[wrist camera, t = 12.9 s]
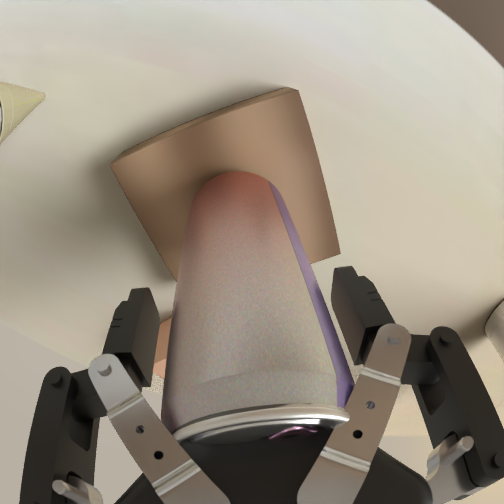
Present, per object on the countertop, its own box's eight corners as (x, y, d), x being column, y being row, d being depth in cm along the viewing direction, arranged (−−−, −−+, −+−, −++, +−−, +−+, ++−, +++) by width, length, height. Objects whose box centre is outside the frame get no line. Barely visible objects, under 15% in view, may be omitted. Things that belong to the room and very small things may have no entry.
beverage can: (302, 202, 20) (404, 424, 7) (245, 265, 22) (274, 484, 10) (227, 148, 17) (245, 388, 5) (173, 222, 20) (128, 460, 7)
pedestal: (287, 87, 18) (298, 90, 16) (329, 233, 25) (340, 253, 22) (123, 151, 20) (109, 165, 17) (192, 278, 26) (189, 302, 24)
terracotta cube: (190, 306, 28) (186, 348, 24) (223, 334, 31) (224, 375, 26) (153, 327, 29) (146, 367, 25) (186, 352, 32) (184, 391, 28)
